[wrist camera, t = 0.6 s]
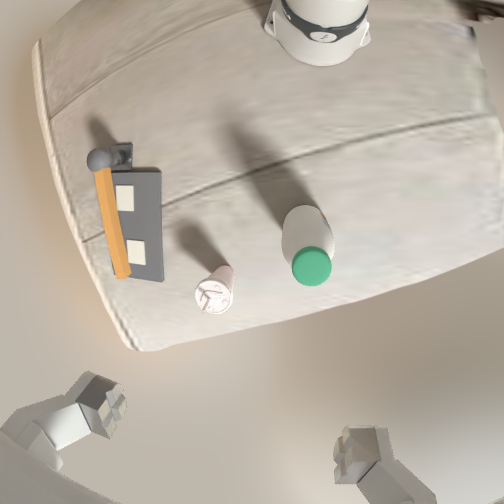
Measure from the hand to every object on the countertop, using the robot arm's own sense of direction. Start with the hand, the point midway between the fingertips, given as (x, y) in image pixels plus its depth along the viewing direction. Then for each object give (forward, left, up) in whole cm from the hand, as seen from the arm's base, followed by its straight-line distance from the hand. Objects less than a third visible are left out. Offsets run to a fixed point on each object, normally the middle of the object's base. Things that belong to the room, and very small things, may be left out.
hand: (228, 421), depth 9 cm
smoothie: (+15, -9, -45) cm, 48 cm away
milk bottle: (+4, +5, -45) cm, 45 cm away
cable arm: (+3, -30, -39) cm, 49 cm away
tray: (+7, -28, -44) cm, 53 cm away
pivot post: (-7, -31, -44) cm, 55 cm away
